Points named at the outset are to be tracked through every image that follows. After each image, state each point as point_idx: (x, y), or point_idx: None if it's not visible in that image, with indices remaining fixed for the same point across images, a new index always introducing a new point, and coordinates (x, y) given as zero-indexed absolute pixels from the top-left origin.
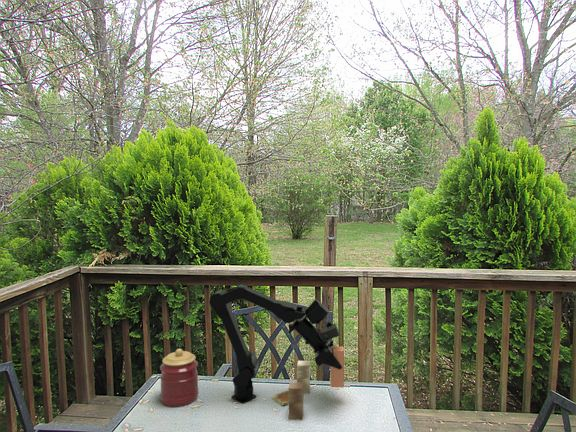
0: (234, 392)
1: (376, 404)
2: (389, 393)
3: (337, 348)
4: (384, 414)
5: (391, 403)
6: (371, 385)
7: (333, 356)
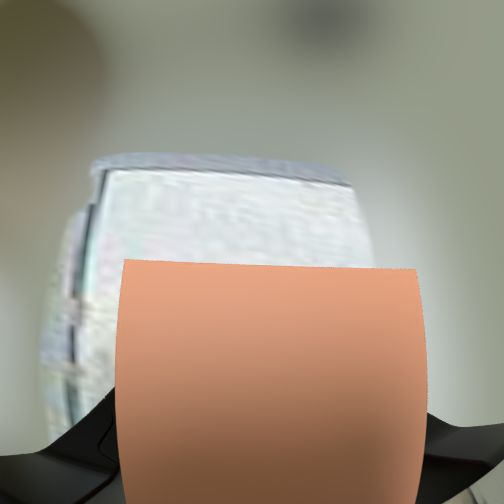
0: None
1: (229, 219)
2: (149, 169)
3: (286, 426)
4: (294, 206)
5: (219, 173)
6: (85, 217)
7: (452, 426)
